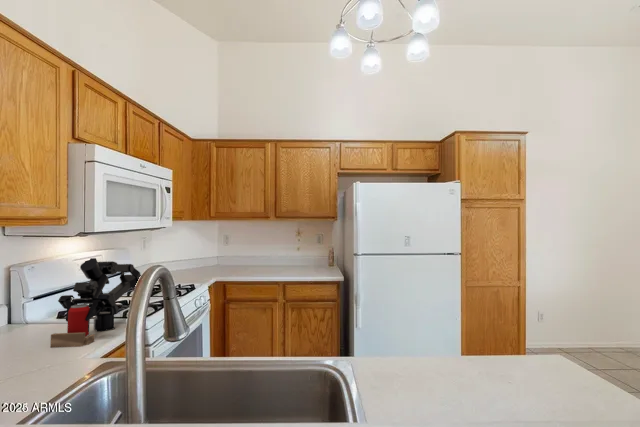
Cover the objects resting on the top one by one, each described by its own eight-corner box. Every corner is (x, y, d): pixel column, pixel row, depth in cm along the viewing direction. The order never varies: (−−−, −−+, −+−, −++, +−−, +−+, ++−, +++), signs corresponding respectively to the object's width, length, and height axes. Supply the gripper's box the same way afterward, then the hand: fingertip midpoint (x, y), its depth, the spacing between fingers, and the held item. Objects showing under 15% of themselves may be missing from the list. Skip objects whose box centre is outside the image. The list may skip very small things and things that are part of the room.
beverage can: (93, 335, 128) (94, 303, 129) (78, 340, 122) (80, 307, 122) (77, 334, 129) (78, 303, 130) (62, 340, 122) (63, 307, 123)
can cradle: (60, 342, 124) (60, 330, 125) (94, 341, 125) (94, 329, 125) (48, 347, 119) (48, 334, 119) (84, 346, 119) (84, 333, 120)
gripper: (62, 274, 130) (39, 309, 119) (111, 273, 131) (93, 307, 120) (75, 291, 138) (54, 326, 126) (121, 290, 139) (105, 324, 127)
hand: (76, 320), depth 124 cm, fingers closed on beverage can, 7 cm apart
